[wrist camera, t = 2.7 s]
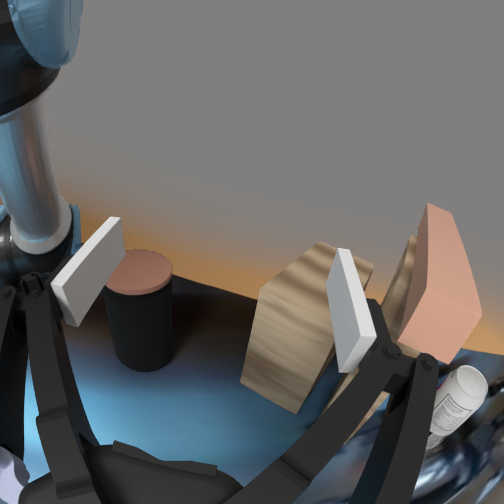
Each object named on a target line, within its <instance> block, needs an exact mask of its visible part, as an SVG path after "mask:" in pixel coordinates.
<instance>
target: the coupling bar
mask: <svg viewBox="0 0 504 504" xmlns="http://www.w3.org/2000/svg"><path fill="white" fill-rule="evenodd" d="M481 316H482V310H481V306H480V301H479V298H478V293H477V289H476V286H475V282H474V278H473V275H472V272H471V268H470V265H469V262H468V258H467V255H466V252H465V249H464V246H463V243H462V241H461V238H460V235H459V232H458V230H457V227H456V224H455V222H454V219H453V217H452V214H451V213H450V212H447V211H445V210H443V209H441V208H438V207H436V206H434V205H432V204H429V203H427V205H426V208H425V211H424V214H423V216H422V219H421V222H420V225H419V228H418V236H417V244H416V252H415V259H414V265H413V271H412V277H411V283H410V288H409V293H408V298H407V303H406V308H405V312H404V317H403V321H402V325H401V329H400V333H399V337H398V342H400V343H402V344H404V345H406V346H409V347H411V348H413V349H415V350H417V351H420V352H422V353H428V354H430V355H432V356H434V358H435V359H437V360H440V361H442V362H444V363H446V364H449V363H450V362H451V361H452V359H453V358H454V357H455V355H456V354H457V352H458V351H459V350H460V348H461V347H462V345H463V344H464V342H465V341H466V339H467V338H468V336H469V335H470V333H471V332H472V330H473V329H474V327H475V325H476V324H477V322H478V321H479V319H480V317H481Z"/></svg>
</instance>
